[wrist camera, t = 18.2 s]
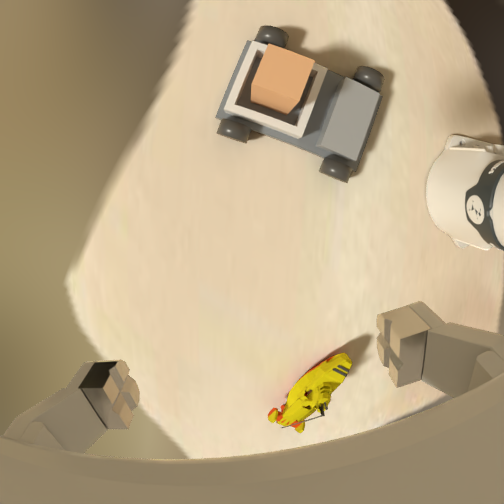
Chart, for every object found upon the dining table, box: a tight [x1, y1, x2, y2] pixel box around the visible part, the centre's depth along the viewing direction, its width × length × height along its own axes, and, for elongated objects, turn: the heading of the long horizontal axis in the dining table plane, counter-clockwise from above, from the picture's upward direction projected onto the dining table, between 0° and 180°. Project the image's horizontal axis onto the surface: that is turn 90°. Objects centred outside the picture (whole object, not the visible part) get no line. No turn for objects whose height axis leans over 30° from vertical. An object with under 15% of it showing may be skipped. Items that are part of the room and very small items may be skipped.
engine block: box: [251, 44, 315, 115], centre depth 32 cm, size 5×5×10 cm
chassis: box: [215, 26, 384, 183], centre depth 36 cm, size 20×16×4 cm
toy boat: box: [268, 353, 352, 433], centre depth 46 cm, size 6×18×10 cm, turn 146°
